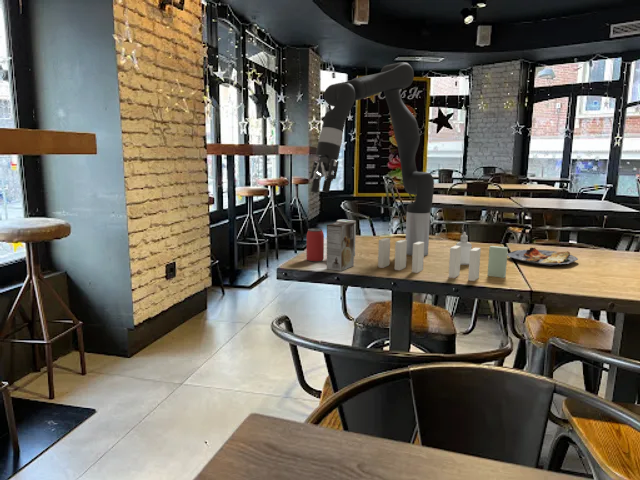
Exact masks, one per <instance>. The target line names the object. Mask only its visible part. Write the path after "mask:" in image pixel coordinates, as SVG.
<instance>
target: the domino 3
mask: <svg viewBox="0 0 640 480" xmlns="http://www.w3.org/2000/svg"><path fill="white" fill-rule="evenodd" d="M411 256H412V255H411ZM424 259H425V257H424V242H416V243H414V244H413V256H412V258H411V260H412V261H411V273H415V274H417V273H420V272H422V271H423V270H424Z"/></svg>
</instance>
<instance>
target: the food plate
mask: <svg viewBox="0 0 640 480" xmlns="http://www.w3.org/2000/svg"><path fill="white" fill-rule="evenodd" d="M508 257H509V258H513V259H514V260H518V261H520V262H522V263H526V264H532V265H542V266H548V267H552V266H556V265H558V266H559V265H566V264H567V265H568V264H571V263H574V262H575V261H578V260H579V258H578V257H576V256H574V255H572V254H571V252H570V251H555V250H548V249H537V248H536V247H530V248H529V249H517V250H514V251H513V250H512V251H511V252H508V253H507V258H508Z"/></svg>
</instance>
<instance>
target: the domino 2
mask: <svg viewBox="0 0 640 480" xmlns="http://www.w3.org/2000/svg"><path fill="white" fill-rule="evenodd" d="M394 244H395V248H394V252H395V253H394V270H395V271H402V270H404V269H405V268H407V254H406V252H407V240H406V239H400V240H398V241H395V243H394Z"/></svg>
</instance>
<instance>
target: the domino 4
mask: <svg viewBox="0 0 640 480" xmlns="http://www.w3.org/2000/svg"><path fill="white" fill-rule="evenodd" d="M460 258H461V246H456V244H454V245H453V246H451V247H450V248H449V261H448V264H449V265H448V278H451V279H456V278H457V277H459V276H460V275H461V274H460V272H461V265H460Z"/></svg>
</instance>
